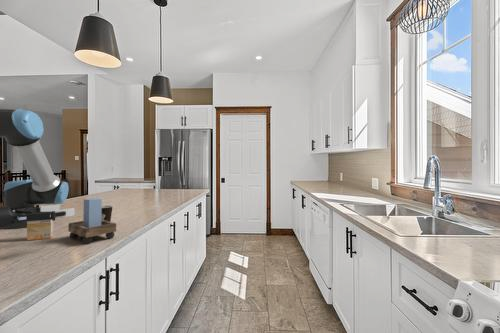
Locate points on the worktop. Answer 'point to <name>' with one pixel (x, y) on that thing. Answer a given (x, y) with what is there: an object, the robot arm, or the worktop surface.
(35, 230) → the supplement box
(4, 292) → the worktop surface
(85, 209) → the slate post
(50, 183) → the robot arm
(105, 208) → the coffee mug
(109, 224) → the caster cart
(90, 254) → the worktop surface
